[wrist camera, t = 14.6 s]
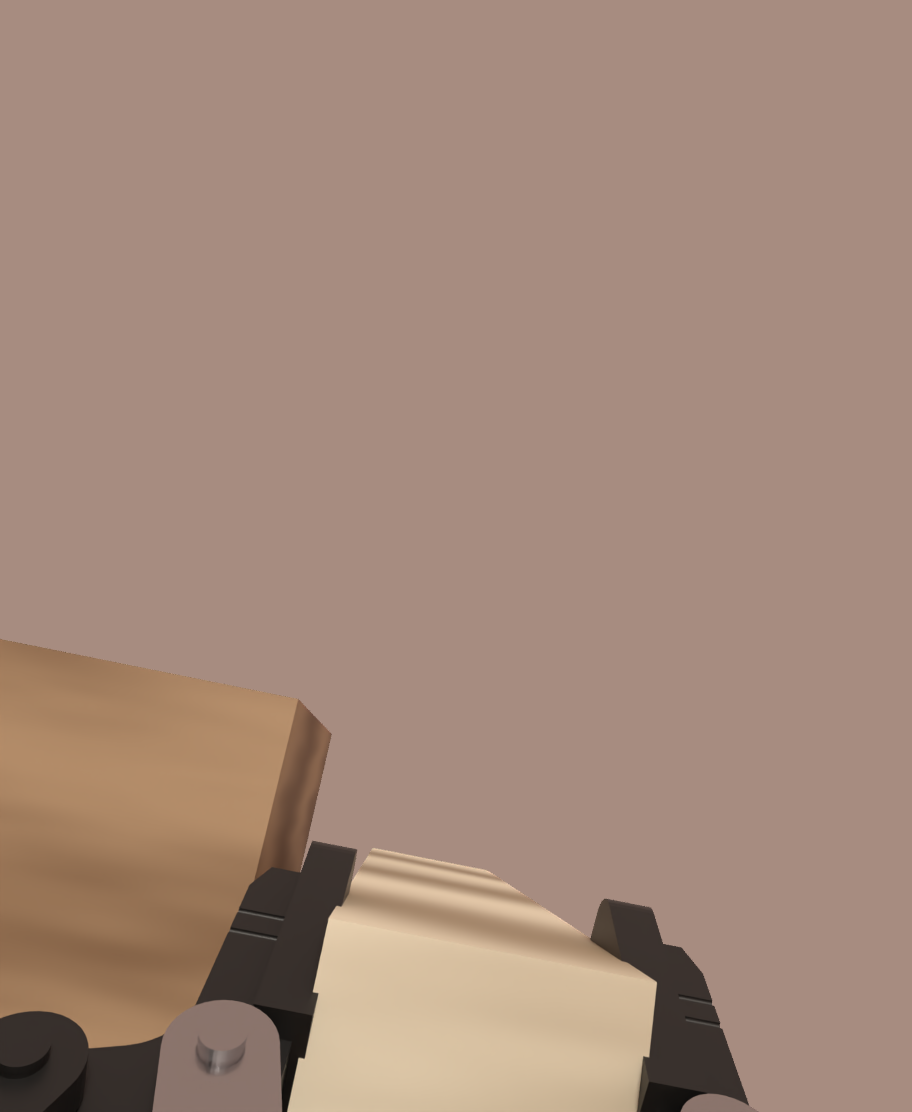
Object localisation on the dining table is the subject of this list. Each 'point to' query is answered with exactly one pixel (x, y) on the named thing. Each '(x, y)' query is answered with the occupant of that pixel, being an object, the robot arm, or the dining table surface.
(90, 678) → the stepped stand
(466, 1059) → the birch bar
